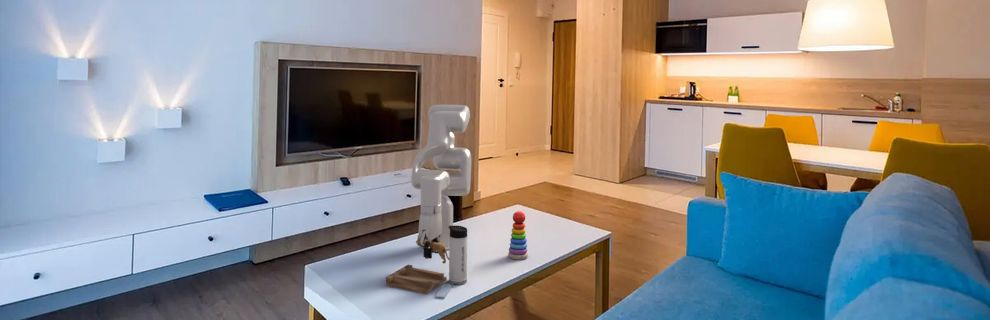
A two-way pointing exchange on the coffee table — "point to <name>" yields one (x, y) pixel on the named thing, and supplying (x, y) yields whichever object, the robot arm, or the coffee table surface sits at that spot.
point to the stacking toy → (518, 237)
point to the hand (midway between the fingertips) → (431, 254)
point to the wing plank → (443, 291)
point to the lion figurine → (436, 248)
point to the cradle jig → (415, 279)
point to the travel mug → (458, 255)
